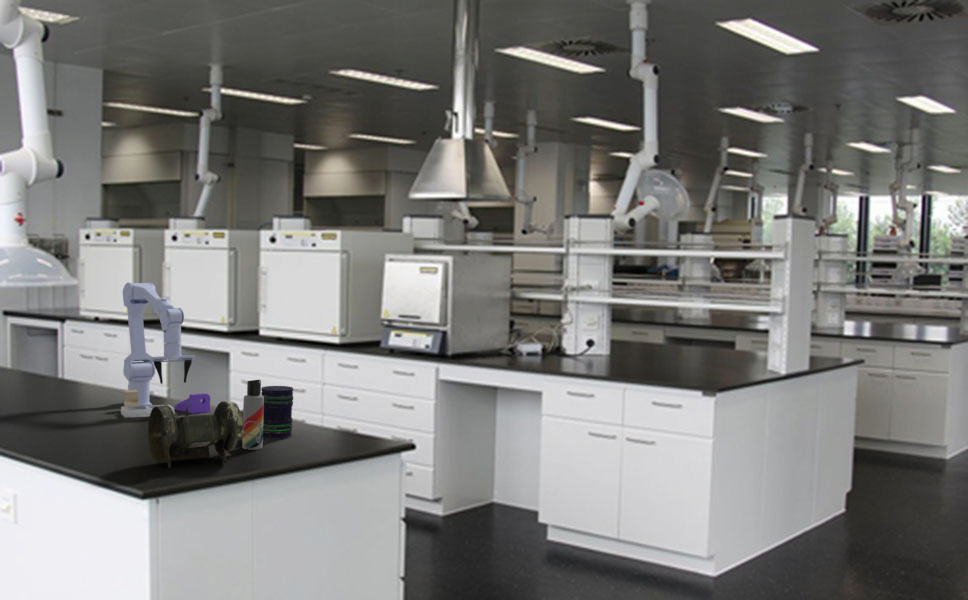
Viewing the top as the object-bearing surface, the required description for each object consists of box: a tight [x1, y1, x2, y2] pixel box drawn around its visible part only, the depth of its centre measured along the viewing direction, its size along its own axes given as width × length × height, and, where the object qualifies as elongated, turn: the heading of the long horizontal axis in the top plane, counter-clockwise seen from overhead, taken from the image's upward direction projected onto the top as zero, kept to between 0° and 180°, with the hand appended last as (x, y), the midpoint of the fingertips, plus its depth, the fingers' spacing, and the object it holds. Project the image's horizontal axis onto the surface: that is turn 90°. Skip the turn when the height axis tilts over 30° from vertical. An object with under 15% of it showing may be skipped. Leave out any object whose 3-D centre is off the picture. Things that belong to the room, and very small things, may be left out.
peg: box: [123, 389, 138, 407], centre depth 327 cm, size 4×4×7 cm
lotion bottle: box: [241, 379, 264, 451], centre depth 272 cm, size 6×6×20 cm
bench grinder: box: [147, 400, 244, 469], centre depth 251 cm, size 20×22×20 cm
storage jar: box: [261, 385, 294, 440], centre depth 292 cm, size 10×10×15 cm
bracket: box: [174, 392, 211, 415], centre depth 333 cm, size 12×7×7 cm, turn 47°
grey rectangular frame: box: [120, 404, 176, 419], centre depth 321 cm, size 8×16×2 cm, turn 120°
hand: (173, 383), depth 324 cm, fingers open, 7 cm apart
